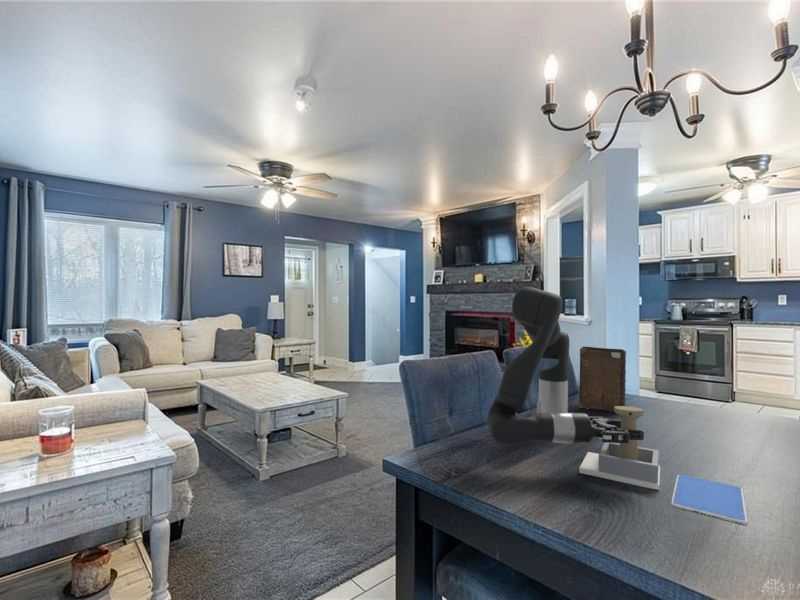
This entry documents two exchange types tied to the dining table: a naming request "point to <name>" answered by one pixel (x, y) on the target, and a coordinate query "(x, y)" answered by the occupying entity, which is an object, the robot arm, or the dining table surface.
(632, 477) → the open box
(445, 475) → the dining table surface
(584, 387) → the book
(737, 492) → the tablet computer
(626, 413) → the handle
